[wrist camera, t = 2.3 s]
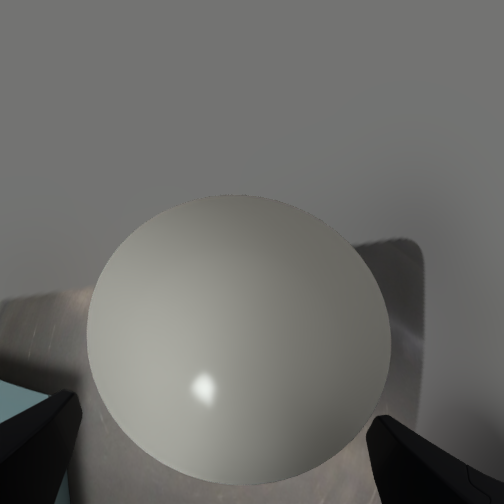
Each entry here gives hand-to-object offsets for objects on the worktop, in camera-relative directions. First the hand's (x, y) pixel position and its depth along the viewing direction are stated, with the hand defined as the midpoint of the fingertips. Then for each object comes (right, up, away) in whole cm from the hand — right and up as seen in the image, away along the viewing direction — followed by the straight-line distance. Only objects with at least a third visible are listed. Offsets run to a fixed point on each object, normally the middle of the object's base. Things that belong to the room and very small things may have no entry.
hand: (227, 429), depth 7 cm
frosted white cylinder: (-1, -3, +9) cm, 10 cm away
